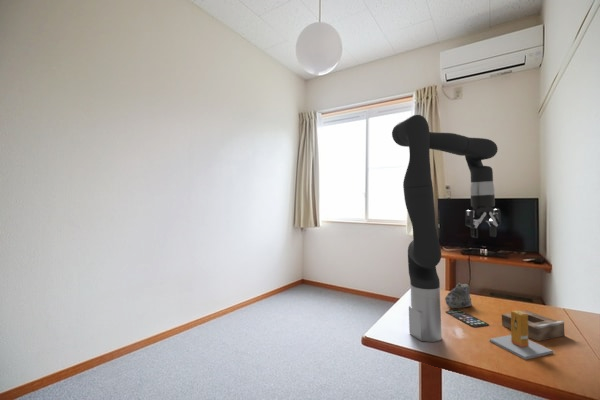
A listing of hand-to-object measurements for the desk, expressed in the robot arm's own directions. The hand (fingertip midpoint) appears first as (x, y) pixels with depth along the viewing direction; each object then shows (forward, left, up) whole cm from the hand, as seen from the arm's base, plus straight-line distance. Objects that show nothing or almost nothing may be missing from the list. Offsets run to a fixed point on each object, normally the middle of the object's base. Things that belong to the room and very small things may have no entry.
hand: (484, 237), depth 104 cm
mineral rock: (+3, +17, -32) cm, 37 cm away
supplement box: (-6, -16, -32) cm, 36 cm away
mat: (-6, -16, -32) cm, 37 cm away
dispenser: (+9, -9, -32) cm, 35 cm away
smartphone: (-4, +6, -33) cm, 33 cm away
